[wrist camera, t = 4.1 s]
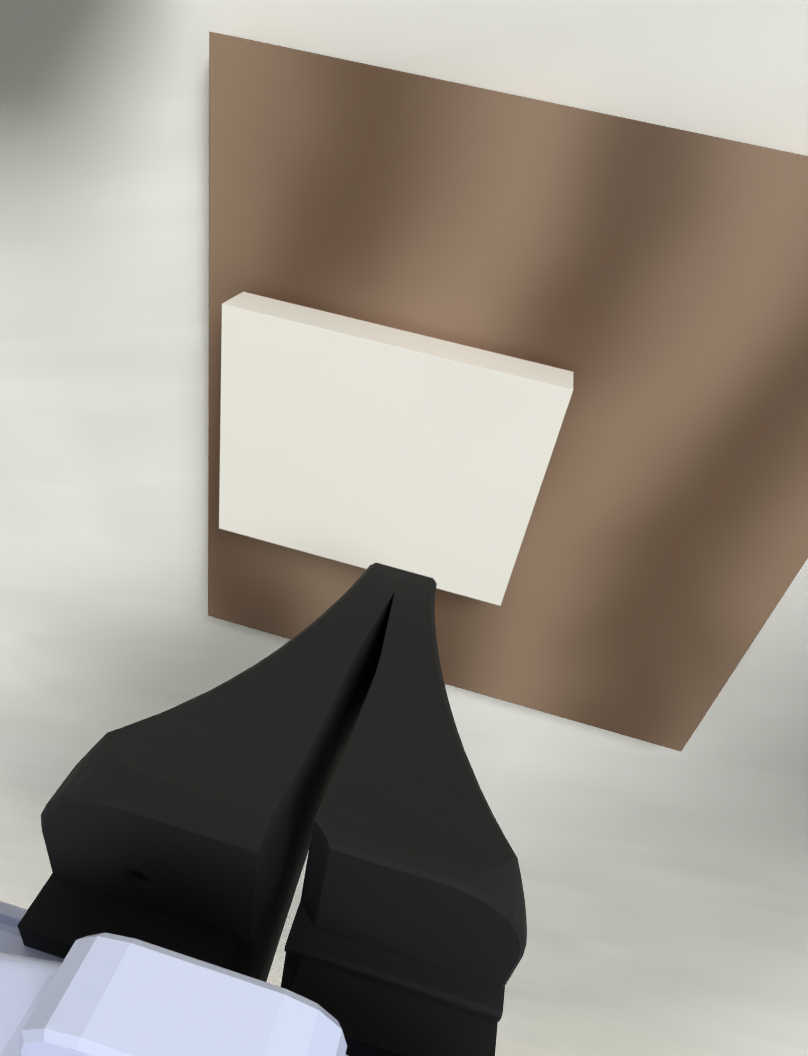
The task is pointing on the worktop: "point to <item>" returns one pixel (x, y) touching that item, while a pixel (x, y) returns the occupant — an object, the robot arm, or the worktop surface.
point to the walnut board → (542, 359)
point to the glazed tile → (382, 443)
